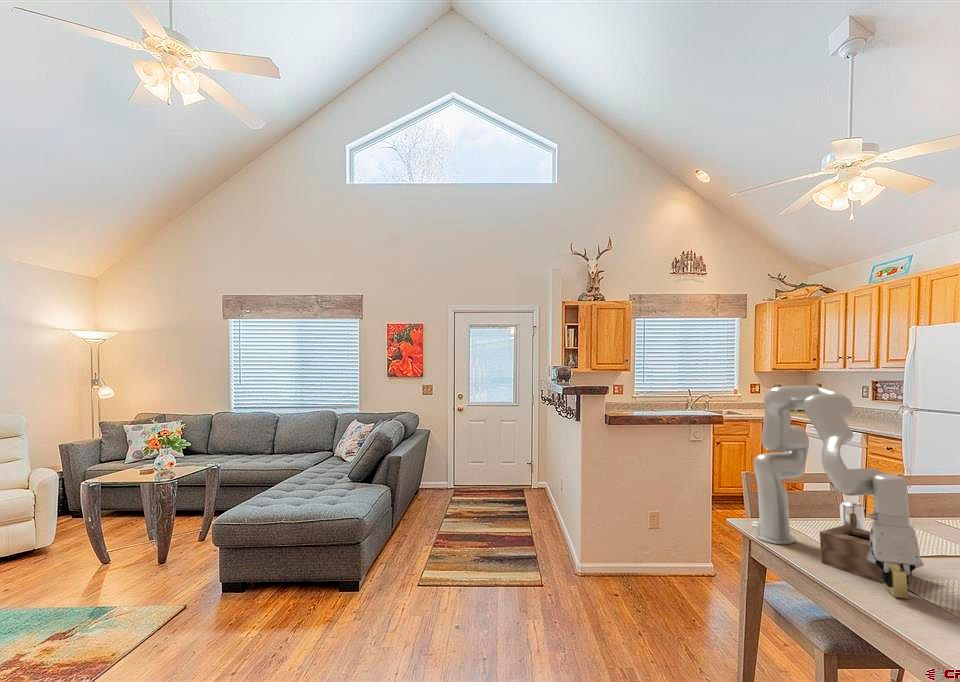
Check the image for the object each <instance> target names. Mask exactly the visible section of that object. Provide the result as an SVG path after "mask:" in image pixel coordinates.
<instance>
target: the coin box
mask: <svg viewBox="0 0 960 682" xmlns="http://www.w3.org/2000/svg"><path fill="white" fill-rule="evenodd" d="M870 531H871V530H870ZM870 531H869V530H865V529H864V530H862V529H858V528H854V527H850V526H847V525H843V526H842V525H840V526H837V527H832V528H828V529H825V530H821V531H819V543H820V557H821V559H820V561H821V564H824V565H828V566H830V567H833V568H836V569H840V570H842V571H845V572H849V573H851V574H853V575H858V576H860V577H863V578H866V579H869V580H872V581H875V582H878V583H881V584H884V585H885V583H884V582H883V580H882V569H881V568H880V567H879V566H878V565H877V564H875V563H873V562H871V561H869V560H867V559H866V555H867V553H868V552H869V550H870ZM874 558H875V557H874ZM875 559H876V558H875ZM894 564H897V565H898V566H899V567H900V564H898V563H894ZM911 576H913V571H911V572H910V574H909V575H908V578H909V577H911Z"/></svg>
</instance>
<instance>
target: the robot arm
mask: <svg viewBox="0 0 960 682" xmlns="http://www.w3.org/2000/svg"><path fill="white" fill-rule="evenodd" d="M763 405H764V406H763V407H764V418H763V424H762V431H761V444H762V447H763V448H764V449H765V450H766V451H769V452H765V453H761V454H758V455H757V456H756V457H755V458H754V459H753V461H752V463H753V464H752V465H753V470H754V474H755V478H756V484H757V495H758V497H757V498H758V500H757V501H758V512H759V513H758V515H759V517H758V518H759V522H758V521H755V520H753V521H752V523H751V528H753V529H757V531H756V532H755V537H756V538H757V539H758V540H760V541H762V542H765V543H771V544H776V545H792V544H795V543H796V538H795V536H794V535H791V530H790V528H791V527H790V513H789V497H788V496H789V495H788V490H787V488H786V486H785V485H784V483H783V482H782V479H796V478H799V477H801V476H803V475H804V472H805V470H806V466H807V461H808V452H809V446H810V439H809V435H808V433H807V431H806V430H805V429H804V428H803V427H801V426H799V425H794V424H793V425H792V424H791V422H792V416H791V413H790V411H793V410H794V411H795V410H797V411H798V410H799V411H801V410H802V411H803V410H804V412H805V414H806V415H807V418H808V419H809V421H810V422H811V424H812V426H813V427H814V429H815V431H816V433H817V434H818V435H819V436H818V437H820V440H821V441H822V443H823V446H822V448H821V449H822V450H821V462H822V468H823V470H824V472H825V474H826V475H827V477H828V479H829V480H830V482H831V484H832V485H833V487H834V488H835V489H836V490H837V491H838V492H840V494H842V495H845V496H851V497H852V496H854V497H855V496H873V498H872V499H873V509H874V510H873V512H872V513H868V514H867V515H868V518H869V519H872V522H871V527H870V550H869V552H868V553H867V555H866V559H867V560H869V561H871V562H873V563H875V564H877V565H878V566H879V567H880V568H881V569H882V580H883V582H885V584H886V585H887V586H888V587H892V585H891V573H890V572H889V563H898V564H900V567H901V568H902V569H903V570H904V571H905V572H906V576H907V586H909V583H910V581H909V577H908V575H909V574H910V572H911V571H912V572H913V571H915V570H916V569H918V568H921V567H924V565H925V564H924V562H923V560H922V559H921V554H920V547H919V543H918V536H917V535H916V530H915V528H914V526H913V525H910V524H911V523H910V511H909V510H910V508H909V491H908V490H909V489H908V481H907V480H906V479H905V477H903V476H899V475H896V474H891V473H886V472H884V471H882V470H879V469H877V468H870V467H869V468H848V467H847V466H846V464H845V463H844V461H843V459H842V456H841V447H842V446H844V445H845V444H847V443H849V442H850V441H851V440H852V439H853V438H854V432H853V431H852V430H851V428H850V426H849V425H848V422H846V420H845V419H847V418H849V417H851V416H852V415H853V412H854V406H853V403H852V401H851V399H850V398H849V397H847V396H846V395H844V394H843V393H839V392H838V391H833V390H831V389H827V388H824V387H821V386H817V385H781V386H775V387H774V386H773V387H771V388H769V389H768V390H767V391H766V393H765V394H764V398H763ZM874 557H875V558H876V559H875V558H874ZM885 584H884V585H885Z"/></svg>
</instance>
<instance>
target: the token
mask: <svg viewBox="0 0 960 682" xmlns="http://www.w3.org/2000/svg"><path fill="white" fill-rule="evenodd" d="M889 572H890V573H891V585H892V587H888V586H887V585H886V584H884V583H885V582H884V583H883V584H884V588H885V590H887V591H888V592H889V593H890V594H891V595H892V596H893V597H894V598H901V599H909V594H908V585H907V576H906V572H905V571H904V570H903V569H902V568H901V567H899V566H898V565H897V564H894V563H889Z"/></svg>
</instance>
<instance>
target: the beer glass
mask: <svg viewBox="0 0 960 682" xmlns="http://www.w3.org/2000/svg"><path fill="white" fill-rule="evenodd" d="M839 518H840V523H841V526H843V525H847V526H850V527H854V528H858V529H862V530H865V525H866V524H865V523H866V522H865V521H866V516H865V509H864V505H863V504H861V503H859V502H854V501H840V502H839Z"/></svg>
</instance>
